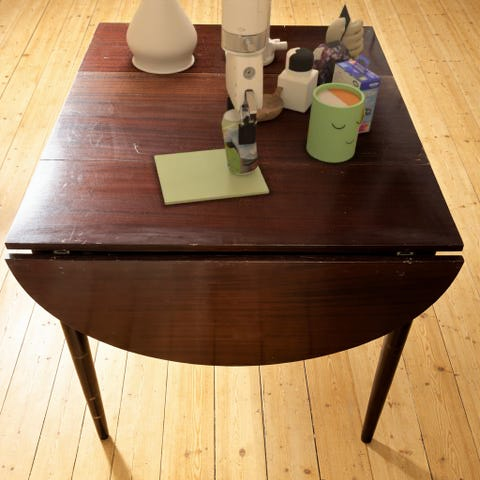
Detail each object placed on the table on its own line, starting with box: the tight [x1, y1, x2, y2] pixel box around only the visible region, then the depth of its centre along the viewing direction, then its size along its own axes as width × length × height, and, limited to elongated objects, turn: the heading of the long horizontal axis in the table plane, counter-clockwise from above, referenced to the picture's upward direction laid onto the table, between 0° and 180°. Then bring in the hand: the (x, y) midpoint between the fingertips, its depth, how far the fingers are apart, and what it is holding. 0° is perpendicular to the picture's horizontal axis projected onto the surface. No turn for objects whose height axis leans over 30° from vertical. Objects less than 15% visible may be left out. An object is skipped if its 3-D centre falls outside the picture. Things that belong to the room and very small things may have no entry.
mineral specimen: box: [312, 40, 352, 86], centre depth 146 cm, size 10×10×10 cm
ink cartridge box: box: [332, 54, 382, 135], centre depth 130 cm, size 10×6×14 cm, turn 27°
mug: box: [306, 83, 365, 163], centre depth 124 cm, size 13×10×12 cm
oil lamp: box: [256, 85, 284, 123], centre depth 136 cm, size 13×8×5 cm, turn 137°
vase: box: [125, 0, 198, 75], centre depth 145 cm, size 17×17×25 cm
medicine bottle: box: [276, 47, 318, 114], centre depth 137 cm, size 7×7×12 cm
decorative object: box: [325, 4, 365, 61], centre depth 153 cm, size 13×10×10 cm
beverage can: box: [221, 109, 259, 175], centre depth 117 cm, size 6×7×12 cm
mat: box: [153, 148, 270, 206], centre depth 120 cm, size 20×16×1 cm
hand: (240, 129), depth 115 cm, fingers open, 9 cm apart
